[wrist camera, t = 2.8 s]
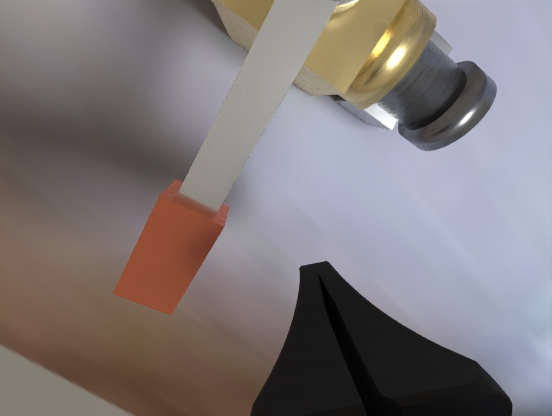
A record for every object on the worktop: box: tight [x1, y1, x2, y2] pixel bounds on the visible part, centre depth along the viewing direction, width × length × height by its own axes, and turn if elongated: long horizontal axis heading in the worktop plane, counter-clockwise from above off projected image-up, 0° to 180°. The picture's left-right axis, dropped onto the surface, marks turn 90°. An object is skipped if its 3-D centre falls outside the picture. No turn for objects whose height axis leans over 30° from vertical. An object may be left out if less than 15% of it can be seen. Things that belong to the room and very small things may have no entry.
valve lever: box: [113, 0, 359, 315], centre depth 8 cm, size 14×3×2 cm, turn 148°
